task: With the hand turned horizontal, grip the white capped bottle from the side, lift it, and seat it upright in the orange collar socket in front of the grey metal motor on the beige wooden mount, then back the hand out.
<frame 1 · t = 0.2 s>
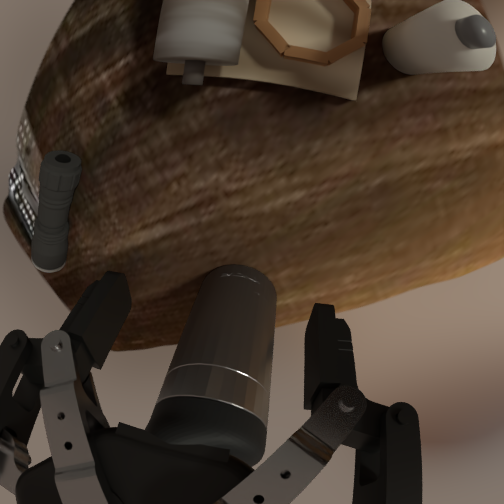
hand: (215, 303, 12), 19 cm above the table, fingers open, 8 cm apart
flashlight: (66, 206, 32), on the table
white capped bottle: (406, 50, 19), on the table
motor mount: (271, 15, 20), on the table
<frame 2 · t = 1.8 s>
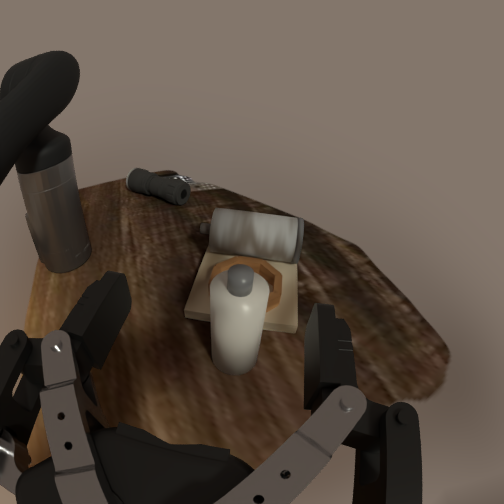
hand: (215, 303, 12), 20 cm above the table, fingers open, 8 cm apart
flashlight: (157, 197, 62), on the table
white capped bottle: (234, 355, 32), on the table
motor mount: (247, 281, 42), on the table
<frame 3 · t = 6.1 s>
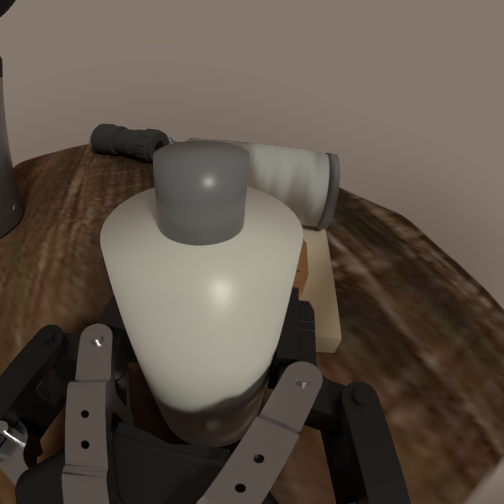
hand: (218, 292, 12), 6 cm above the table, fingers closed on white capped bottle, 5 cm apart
flashlight: (126, 157, 44), on the table
white capped bottle: (209, 403, 14), on the table, touching gripper
motor mount: (242, 257, 24), on the table
when the fingers open (9 cm above the table, at t = 12.4 s): white capped bottle drops 1 cm, resting on motor mount.
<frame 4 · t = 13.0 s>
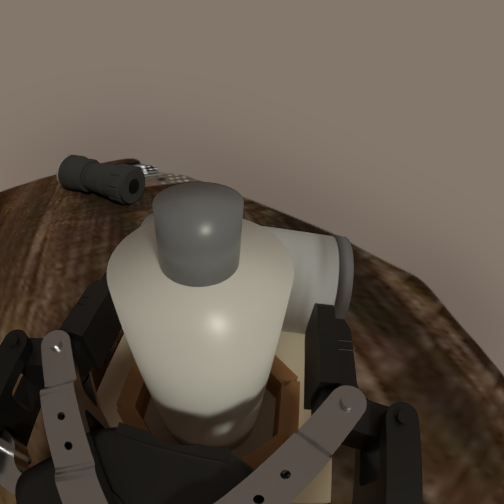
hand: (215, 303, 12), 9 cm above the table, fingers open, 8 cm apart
flashlight: (99, 195, 38), on the table
white capped bottle: (209, 412, 14), point 2 cm above the table, touching motor mount
motor mount: (221, 374, 18), on the table
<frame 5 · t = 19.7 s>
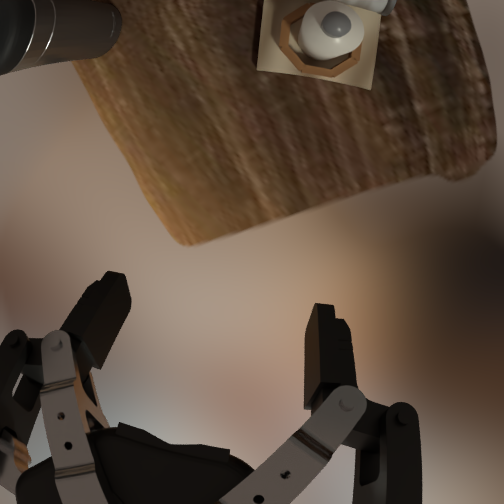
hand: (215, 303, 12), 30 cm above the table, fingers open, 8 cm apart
white capped bottle: (319, 41, 27), point 2 cm above the table, touching motor mount
motor mount: (321, 17, 26), on the table
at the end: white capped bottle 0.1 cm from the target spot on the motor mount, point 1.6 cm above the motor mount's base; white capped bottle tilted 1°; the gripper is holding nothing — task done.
